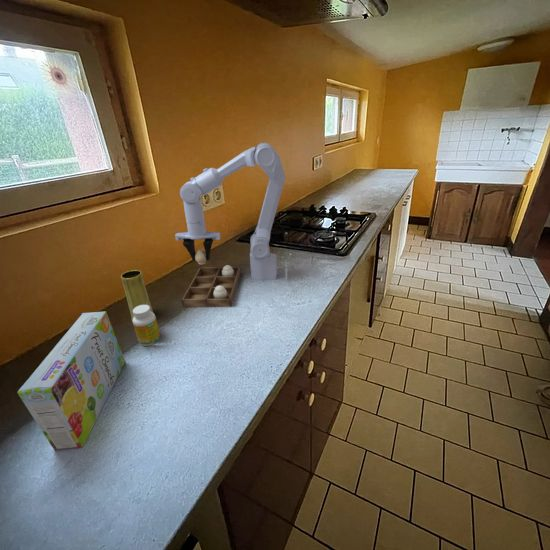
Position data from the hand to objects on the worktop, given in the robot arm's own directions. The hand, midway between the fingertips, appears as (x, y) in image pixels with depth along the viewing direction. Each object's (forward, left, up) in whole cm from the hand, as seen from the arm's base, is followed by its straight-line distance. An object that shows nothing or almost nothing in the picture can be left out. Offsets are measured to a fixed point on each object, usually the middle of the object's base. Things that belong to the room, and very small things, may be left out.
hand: (201, 259), depth 103 cm
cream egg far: (-9, 0, -8) cm, 11 cm away
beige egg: (0, 0, -1) cm, 1 cm away
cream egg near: (-9, +14, -8) cm, 18 cm away
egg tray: (-5, +7, -8) cm, 12 cm away
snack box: (+11, +51, -9) cm, 53 cm away
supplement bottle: (+7, +32, -9) cm, 34 cm away
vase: (+13, +22, -9) cm, 27 cm away
